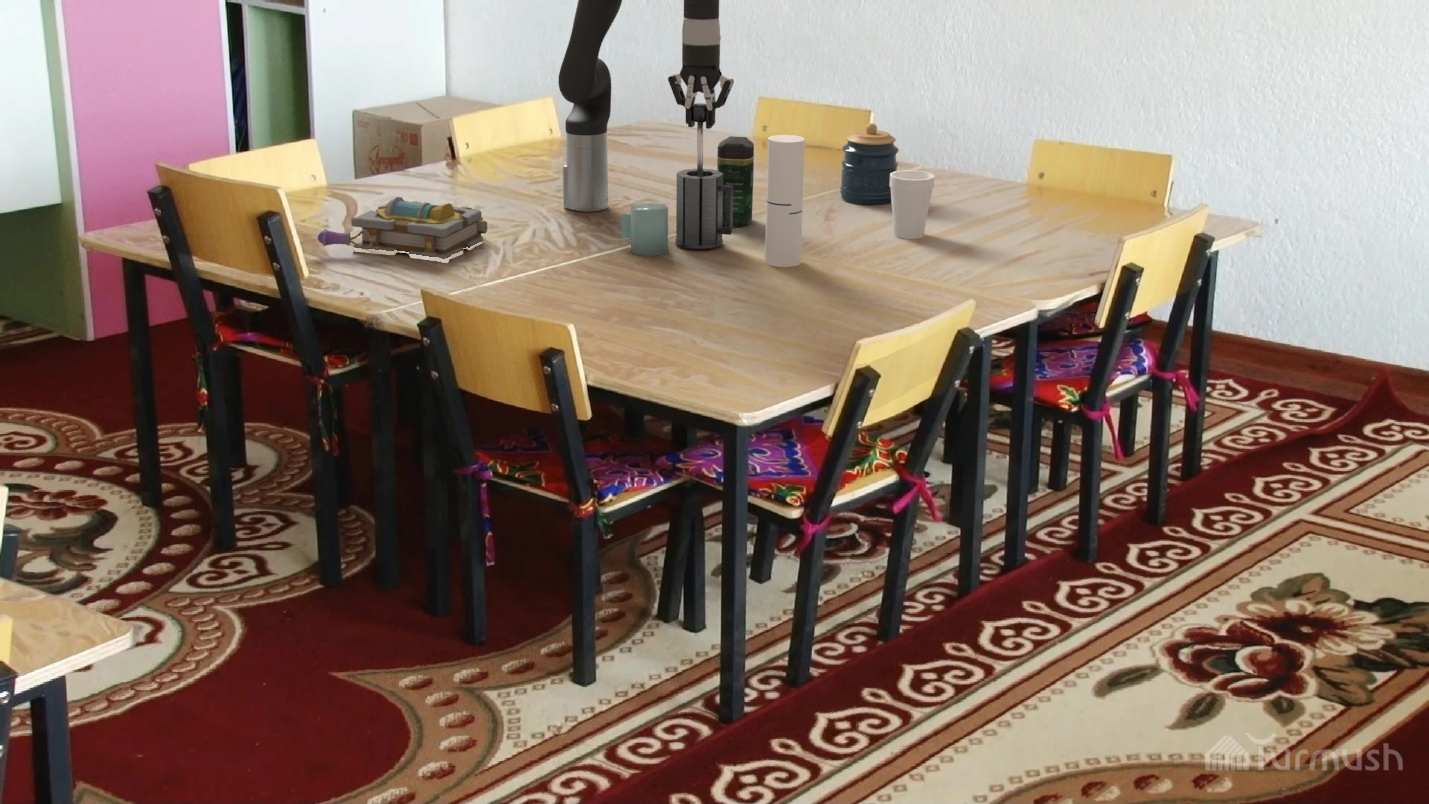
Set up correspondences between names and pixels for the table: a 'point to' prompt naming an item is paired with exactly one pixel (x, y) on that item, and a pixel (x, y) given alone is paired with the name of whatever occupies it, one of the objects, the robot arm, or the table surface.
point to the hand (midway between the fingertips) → (700, 126)
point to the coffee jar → (737, 176)
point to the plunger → (699, 133)
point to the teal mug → (646, 229)
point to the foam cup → (910, 202)
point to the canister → (868, 166)
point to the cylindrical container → (784, 200)
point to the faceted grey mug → (702, 210)
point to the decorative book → (414, 229)
